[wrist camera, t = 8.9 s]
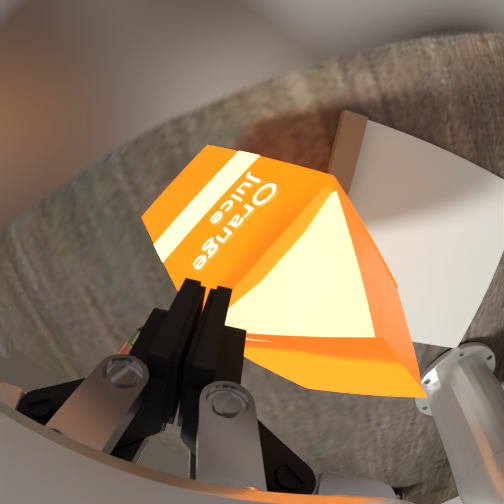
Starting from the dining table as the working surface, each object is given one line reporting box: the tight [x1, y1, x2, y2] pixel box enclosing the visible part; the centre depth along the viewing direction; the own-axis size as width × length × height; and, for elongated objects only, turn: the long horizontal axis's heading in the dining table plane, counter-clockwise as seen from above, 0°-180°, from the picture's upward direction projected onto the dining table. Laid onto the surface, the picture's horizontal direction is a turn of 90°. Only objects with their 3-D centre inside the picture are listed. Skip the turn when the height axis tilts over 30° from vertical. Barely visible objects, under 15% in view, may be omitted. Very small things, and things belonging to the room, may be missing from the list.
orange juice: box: [142, 145, 427, 397], centre depth 17 cm, size 8×9×20 cm
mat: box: [326, 110, 504, 348], centre depth 26 cm, size 22×20×2 cm
